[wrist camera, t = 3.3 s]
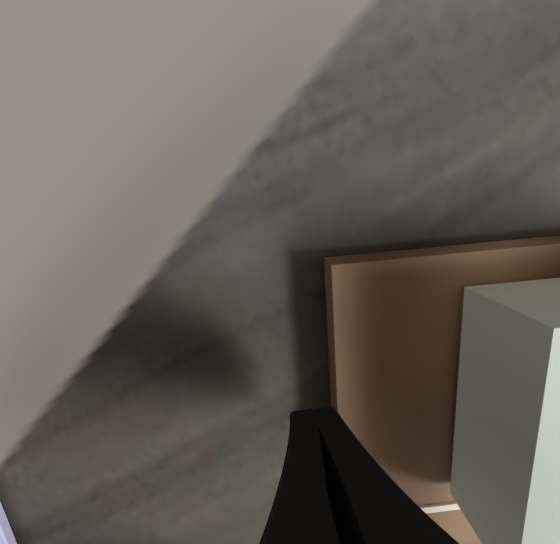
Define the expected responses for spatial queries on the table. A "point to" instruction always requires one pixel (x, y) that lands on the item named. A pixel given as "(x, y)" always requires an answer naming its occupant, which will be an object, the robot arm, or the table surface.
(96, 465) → the table surface
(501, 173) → the table surface
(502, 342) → the cover
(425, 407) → the board
